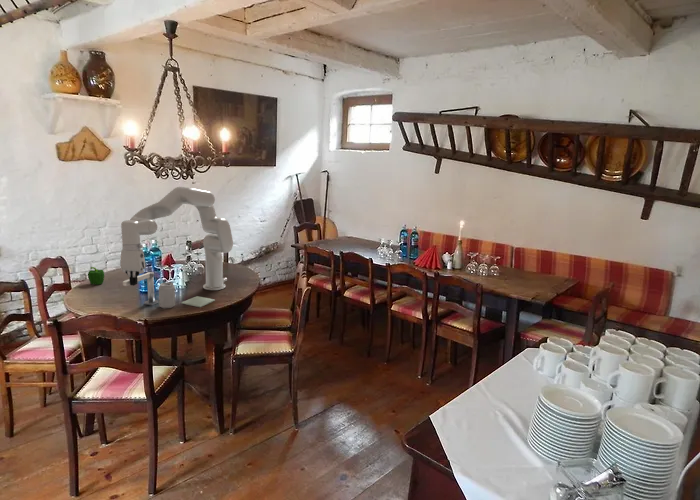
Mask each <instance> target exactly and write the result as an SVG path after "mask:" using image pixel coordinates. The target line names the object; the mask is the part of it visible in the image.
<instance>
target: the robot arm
mask: <svg viewBox="0 0 700 500" xmlns="http://www.w3.org/2000/svg"><path fill="white" fill-rule="evenodd" d="M215 201H216V199H215V195H214V194H213V193H212V191H209V190H208V191H207V190H204V189H203V190H202V189H197V188H193V187H185V186H177V187H174V188H173V189H171V190H170V192H169V193H167V194H166V195H164V197H163V198H162V199H160V200H159V201H158V202H155V203H153V204H151V205H149V206H146V207H144V208H142V209H140V210H139V211H138V212H136V213H135V214H134V215H133V216H132V217H131V218H130V219H128V220H124V221H122V222H121V225H120V228H121V229H120V230H121V239H122V240H121V242H122V243H121V244H122V245H121V246H122V249H121V251H120V252H121V253H120V269H121V272H122V273H124V274H126V275H127V277H128V279H130V285H129V286H136V285H137V284H138V282H139V281H138V280H137V276H140V275H143V274H145V269H146V261H145V259H146V258H145V254H144V253H145V252H144V251H143V250H144V249H143V247H144V246H143V244H141V236H149V235H151V236H152V235H153V234H156V232H157V230H158V224H157V222H156V221H154V220H156V219H162V218H166V217H170V216H172V215H173V213H175V212H176V211H177V210H178V209H180V207H181V206H182V205H184V204H185V205H191V206H194V207H195V208H196V209H197V211H198V213H199V217H200V222H201V226H202V229H203V231H204V232H205V233H208V234H207V235H205V236H204V237H203V241H202V244H203V248H204V255H205V258H204V259H205V260H204V261H205V284H203V285H202V287H203V289H204V290H207V291H219V290H224V289H225V288H226V286H227V285H226V283H225V282H226V281H228V278H227V277H224V273H223V272H224V270H223V269H224V268H223V266H224V265H223V263H224V262H223V260H224V258H223V254H222V253H225V254H226V253H230V252H231V251H232V250H233V247H234V239H233V234H232V229H231V224H230V222H229V221H228V220H227V219H226V218H223V217H219V216H217V213H216V210H215V206H214V204H215Z"/></svg>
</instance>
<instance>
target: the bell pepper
mask: <svg viewBox="0 0 700 500" xmlns="http://www.w3.org/2000/svg"><path fill="white" fill-rule="evenodd" d="M87 278H88V281H89V283H90V284H91V285H97V286H98V285H101V284H103V283H104V281H105V271H104V270H103V269H99V268H98V269H97V268H96V267H95V266H92V267H91V266H90V269H89V271H88V273H87Z"/></svg>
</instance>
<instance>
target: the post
mask: <svg viewBox="0 0 700 500" xmlns="http://www.w3.org/2000/svg"><path fill="white" fill-rule="evenodd" d="M154 277H155V276H154ZM154 277H149V278H147V279H146V282H147V283H146V285H147V299H148V300H146V301H143V305H147V306H155V305H157V304H159V299H156V298H155V279H154Z"/></svg>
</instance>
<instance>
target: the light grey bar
mask: <svg viewBox="0 0 700 500" xmlns="http://www.w3.org/2000/svg"><path fill="white" fill-rule="evenodd" d="M149 277H155V272H154V271H148V272H146V273H145V272H144V273H142V274H139V275H138V276H137V280H138V282H141V281H144V280H147V278H149ZM122 286H124V287H127V286H131V285H130V278H128V279H125V280H124V281H122Z"/></svg>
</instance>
